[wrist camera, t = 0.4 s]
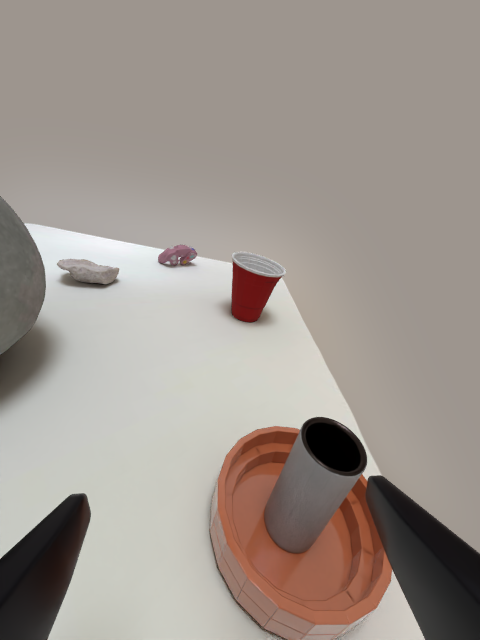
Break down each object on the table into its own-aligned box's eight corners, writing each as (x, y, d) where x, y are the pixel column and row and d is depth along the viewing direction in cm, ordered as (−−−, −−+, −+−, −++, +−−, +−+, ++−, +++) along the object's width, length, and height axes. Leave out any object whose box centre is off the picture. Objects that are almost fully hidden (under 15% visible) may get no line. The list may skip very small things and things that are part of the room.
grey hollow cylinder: (293, 486, 26) (332, 410, 21) (326, 538, 22) (382, 461, 18) (254, 505, 23) (288, 424, 19) (284, 566, 20) (334, 487, 15)
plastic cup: (258, 336, 50) (276, 275, 44) (210, 314, 53) (220, 256, 48) (278, 317, 59) (294, 264, 53) (235, 299, 62) (246, 248, 57)
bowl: (404, 644, 18) (437, 624, 16) (204, 647, 16) (214, 625, 14) (333, 457, 30) (347, 433, 28) (212, 446, 28) (219, 419, 26)
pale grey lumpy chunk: (66, 256, 56) (113, 245, 57) (80, 285, 59) (125, 274, 60) (46, 266, 49) (102, 253, 49) (64, 299, 51) (116, 286, 52)
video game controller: (162, 271, 72) (171, 252, 68) (155, 259, 74) (163, 239, 69) (192, 269, 79) (202, 251, 75) (185, 257, 81) (194, 240, 76)
